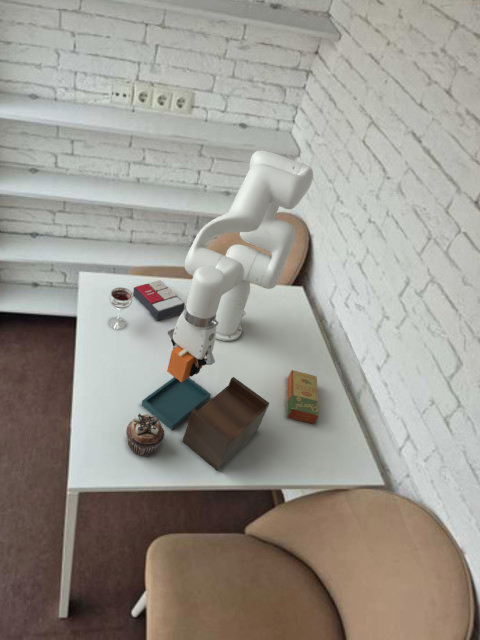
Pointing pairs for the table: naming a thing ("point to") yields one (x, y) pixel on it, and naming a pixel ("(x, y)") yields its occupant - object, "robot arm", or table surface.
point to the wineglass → (120, 304)
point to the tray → (175, 401)
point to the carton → (302, 397)
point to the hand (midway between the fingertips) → (185, 366)
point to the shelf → (225, 423)
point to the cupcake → (144, 434)
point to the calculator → (159, 300)
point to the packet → (180, 364)
